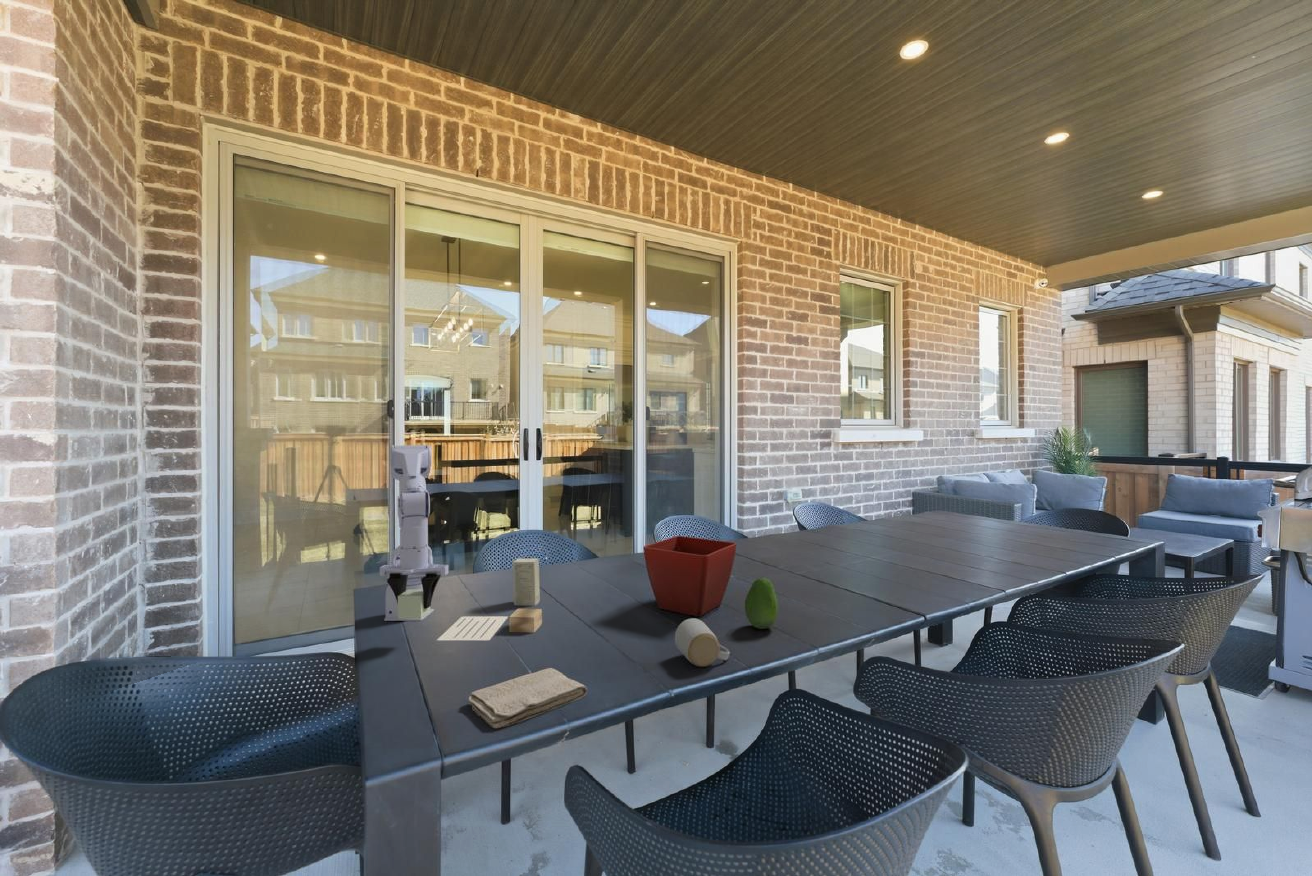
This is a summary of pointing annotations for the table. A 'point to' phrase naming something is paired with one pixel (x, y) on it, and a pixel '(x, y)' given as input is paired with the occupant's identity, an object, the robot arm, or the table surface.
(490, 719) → the washcloth
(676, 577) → the plant pot
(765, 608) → the fruit
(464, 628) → the letter
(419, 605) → the sage cube
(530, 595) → the skincare box
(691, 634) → the ceramic mug
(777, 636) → the table surface
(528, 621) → the oak block
